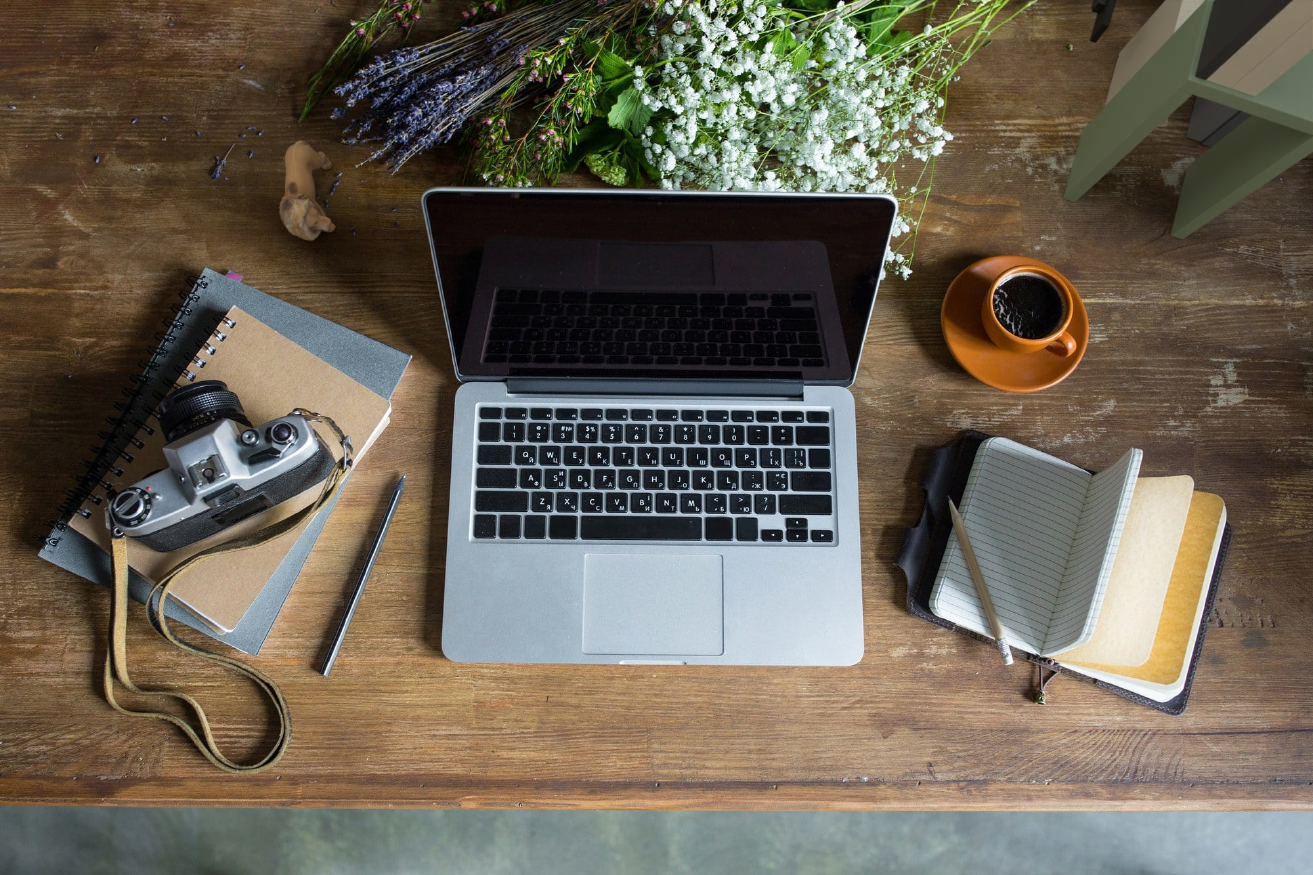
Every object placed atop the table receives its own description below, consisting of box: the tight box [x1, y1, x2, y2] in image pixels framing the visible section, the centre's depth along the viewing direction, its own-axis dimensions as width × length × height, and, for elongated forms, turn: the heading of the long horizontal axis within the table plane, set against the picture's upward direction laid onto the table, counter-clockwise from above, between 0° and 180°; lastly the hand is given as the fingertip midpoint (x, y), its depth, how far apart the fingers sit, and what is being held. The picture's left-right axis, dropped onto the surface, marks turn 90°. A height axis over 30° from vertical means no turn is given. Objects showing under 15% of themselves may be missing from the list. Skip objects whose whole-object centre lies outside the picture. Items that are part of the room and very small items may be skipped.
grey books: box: [1185, 95, 1252, 149], centre depth 93 cm, size 4×9×12 cm, turn 160°
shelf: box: [1062, 0, 1313, 241], centre depth 86 cm, size 15×10×22 cm, turn 70°
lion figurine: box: [278, 140, 337, 242], centre depth 88 cm, size 15×5×9 cm, turn 16°
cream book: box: [1103, 0, 1205, 108], centre depth 93 cm, size 2×9×13 cm, turn 160°
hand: (1154, 53), depth 92 cm, fingers open, 13 cm apart
